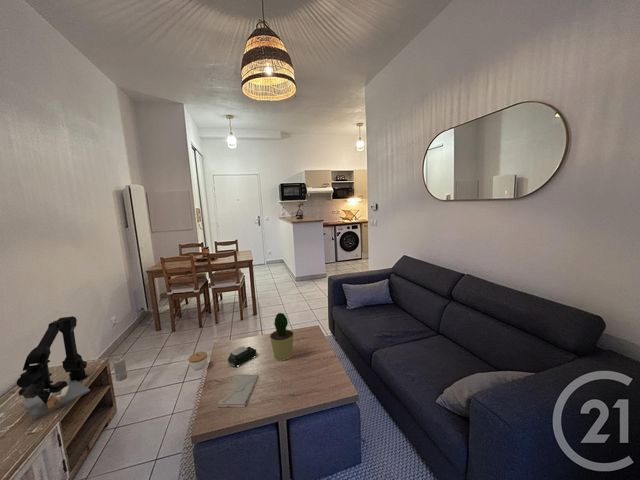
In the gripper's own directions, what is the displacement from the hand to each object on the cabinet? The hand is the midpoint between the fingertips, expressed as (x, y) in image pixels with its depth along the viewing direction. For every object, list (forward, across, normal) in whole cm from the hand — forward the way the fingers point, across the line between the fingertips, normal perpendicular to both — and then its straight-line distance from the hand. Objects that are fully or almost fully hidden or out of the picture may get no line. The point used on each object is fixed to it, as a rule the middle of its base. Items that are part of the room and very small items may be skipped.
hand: (45, 402), depth 140 cm
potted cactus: (-1, +122, +27) cm, 125 cm away
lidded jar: (+1, +69, +23) cm, 73 cm away
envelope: (0, +100, -3) cm, 100 cm away
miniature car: (0, +96, +27) cm, 99 cm away
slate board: (+3, -1, +8) cm, 8 cm away
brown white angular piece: (+1, 0, +5) cm, 5 cm away
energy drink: (+2, +25, +20) cm, 32 cm away
